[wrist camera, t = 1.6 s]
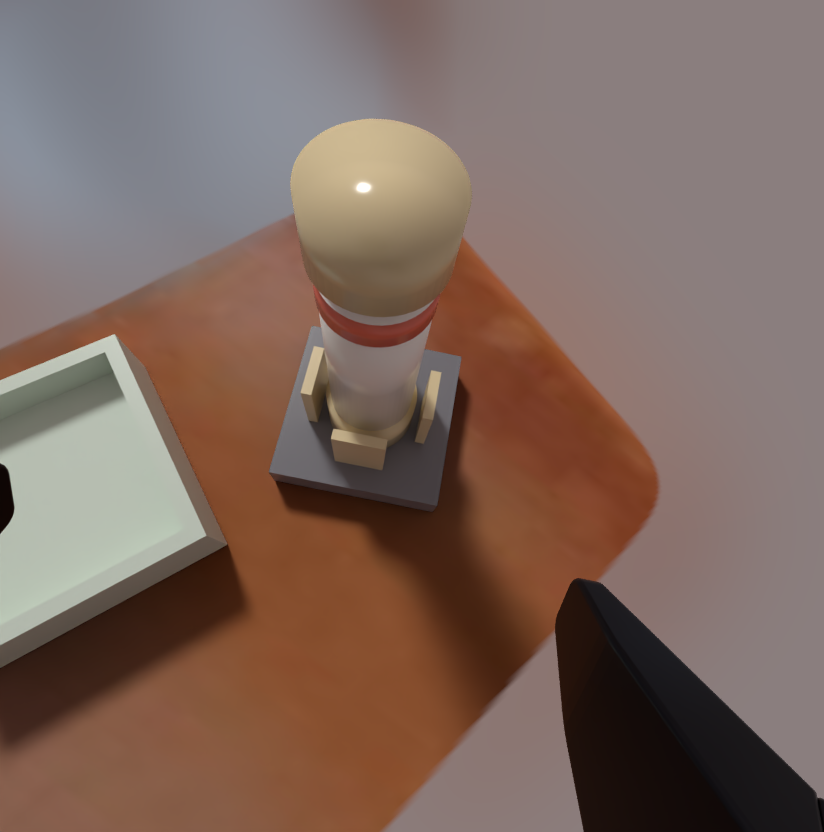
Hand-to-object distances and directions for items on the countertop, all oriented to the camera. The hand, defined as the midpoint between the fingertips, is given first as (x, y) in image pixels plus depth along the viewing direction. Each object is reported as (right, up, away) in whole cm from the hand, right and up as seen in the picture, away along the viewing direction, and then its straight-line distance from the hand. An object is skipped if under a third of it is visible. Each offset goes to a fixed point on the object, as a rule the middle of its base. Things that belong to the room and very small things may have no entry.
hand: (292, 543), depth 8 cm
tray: (-12, -2, +13) cm, 17 cm away
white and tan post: (0, +2, +14) cm, 14 cm away
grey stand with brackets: (0, +2, +15) cm, 15 cm away
